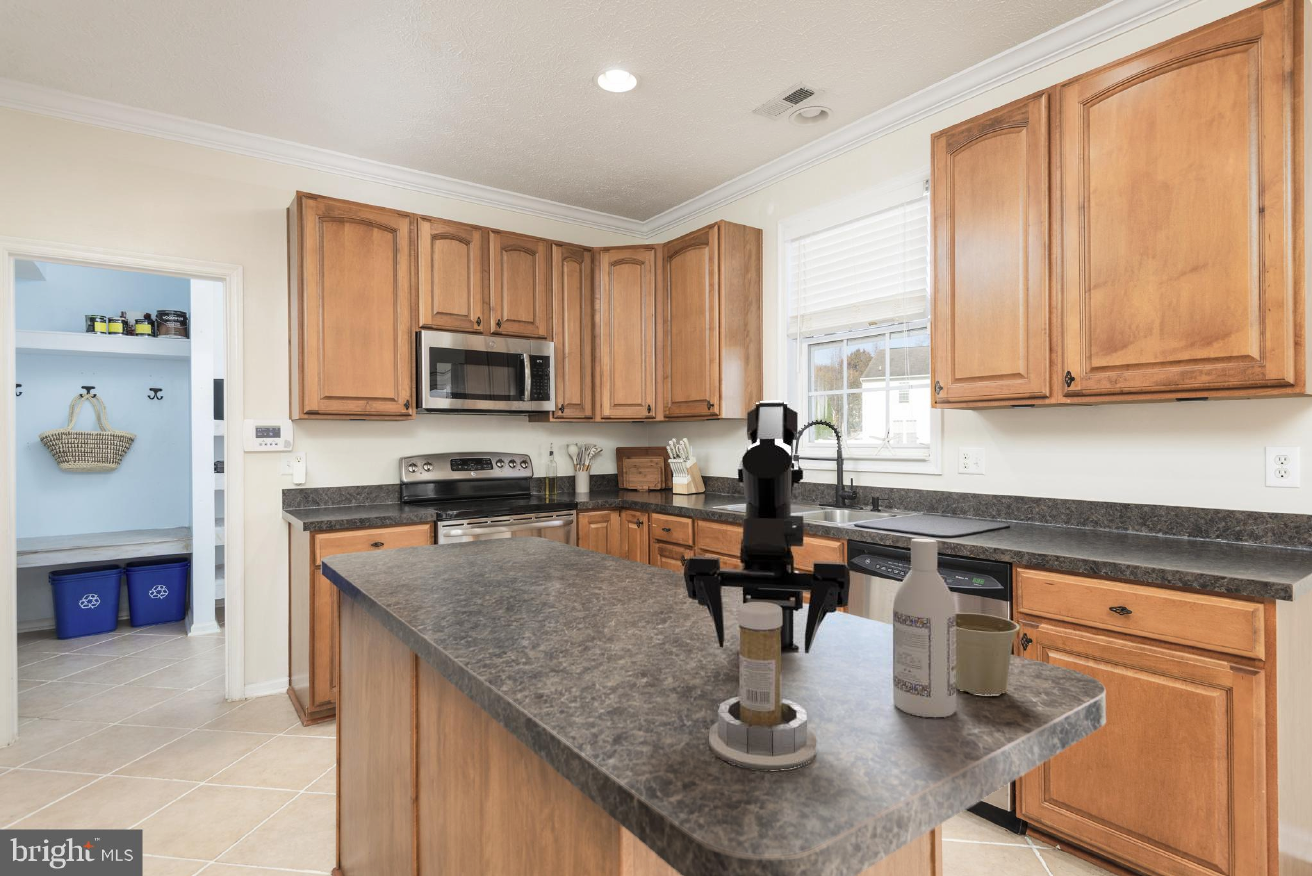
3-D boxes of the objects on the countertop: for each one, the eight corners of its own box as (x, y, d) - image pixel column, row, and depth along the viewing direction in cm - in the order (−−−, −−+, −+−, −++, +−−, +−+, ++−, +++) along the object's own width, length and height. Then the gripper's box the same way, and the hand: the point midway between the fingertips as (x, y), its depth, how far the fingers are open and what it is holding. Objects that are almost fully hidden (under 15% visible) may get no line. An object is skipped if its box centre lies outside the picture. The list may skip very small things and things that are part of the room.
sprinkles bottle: (789, 732, 70) (789, 604, 70) (770, 748, 66) (770, 613, 66) (750, 721, 72) (750, 598, 72) (730, 737, 69) (730, 607, 69)
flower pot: (974, 706, 80) (974, 634, 80) (922, 679, 89) (922, 615, 89) (1037, 699, 82) (1037, 629, 82) (981, 673, 91) (981, 610, 91)
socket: (783, 718, 76) (783, 687, 76) (838, 761, 66) (838, 726, 66) (693, 730, 73) (693, 698, 73) (736, 778, 62) (736, 741, 62)
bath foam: (936, 696, 83) (936, 535, 83) (968, 719, 76) (968, 544, 76) (883, 698, 82) (883, 536, 82) (910, 721, 75) (910, 544, 76)
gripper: (686, 488, 79) (669, 605, 68) (848, 491, 75) (858, 615, 65) (695, 544, 87) (681, 656, 76) (843, 549, 83) (850, 667, 72)
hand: (763, 648), depth 72 cm, fingers open, 9 cm apart
